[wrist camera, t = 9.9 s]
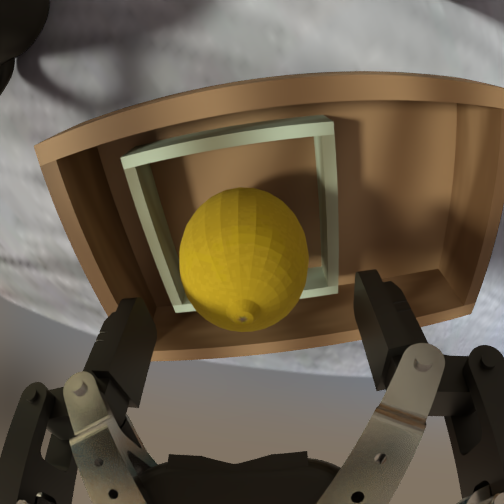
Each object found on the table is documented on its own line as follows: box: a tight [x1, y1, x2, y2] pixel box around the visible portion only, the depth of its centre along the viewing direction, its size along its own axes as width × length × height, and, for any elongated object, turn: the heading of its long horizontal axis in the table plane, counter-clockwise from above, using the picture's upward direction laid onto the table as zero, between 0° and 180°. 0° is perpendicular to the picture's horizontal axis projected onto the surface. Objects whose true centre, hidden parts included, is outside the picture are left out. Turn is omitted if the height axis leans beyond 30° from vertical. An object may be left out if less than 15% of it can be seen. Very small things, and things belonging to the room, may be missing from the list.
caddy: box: [34, 71, 504, 361], centre depth 16 cm, size 22×14×5 cm, turn 99°
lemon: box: [179, 187, 309, 332], centre depth 14 cm, size 6×6×8 cm
